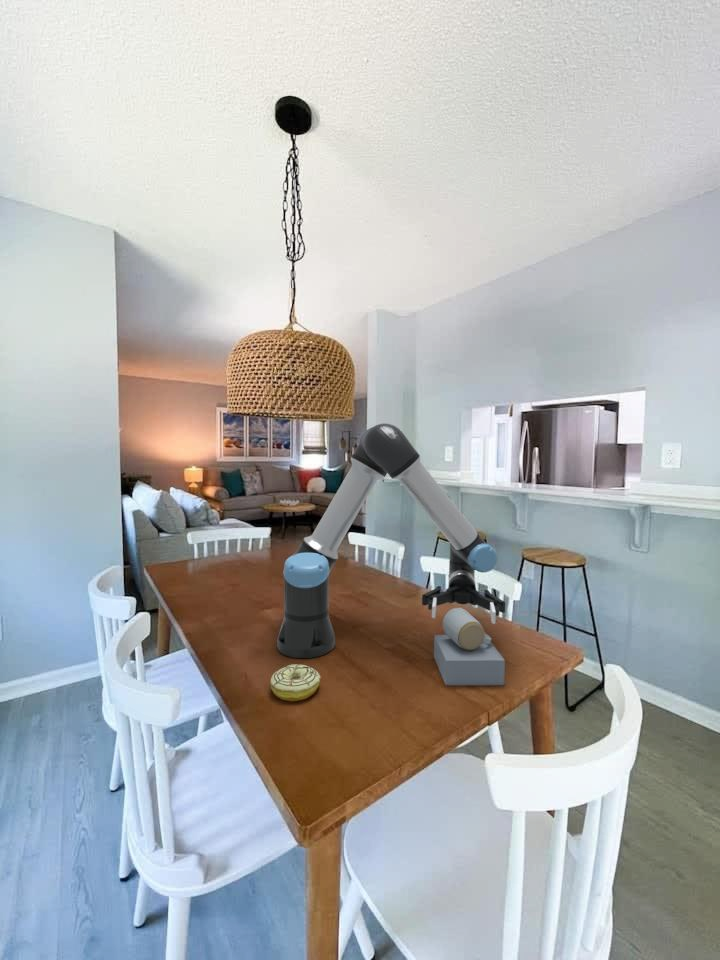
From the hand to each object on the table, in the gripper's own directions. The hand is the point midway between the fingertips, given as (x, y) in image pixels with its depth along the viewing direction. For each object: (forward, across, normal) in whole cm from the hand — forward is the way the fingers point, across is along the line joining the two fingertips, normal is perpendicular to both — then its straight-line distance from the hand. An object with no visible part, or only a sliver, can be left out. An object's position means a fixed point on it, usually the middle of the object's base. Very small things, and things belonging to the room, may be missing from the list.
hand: (463, 615), depth 96 cm
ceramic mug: (-3, -1, -8) cm, 9 cm away
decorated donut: (+16, +35, -14) cm, 41 cm away
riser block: (-1, -1, -14) cm, 14 cm away
